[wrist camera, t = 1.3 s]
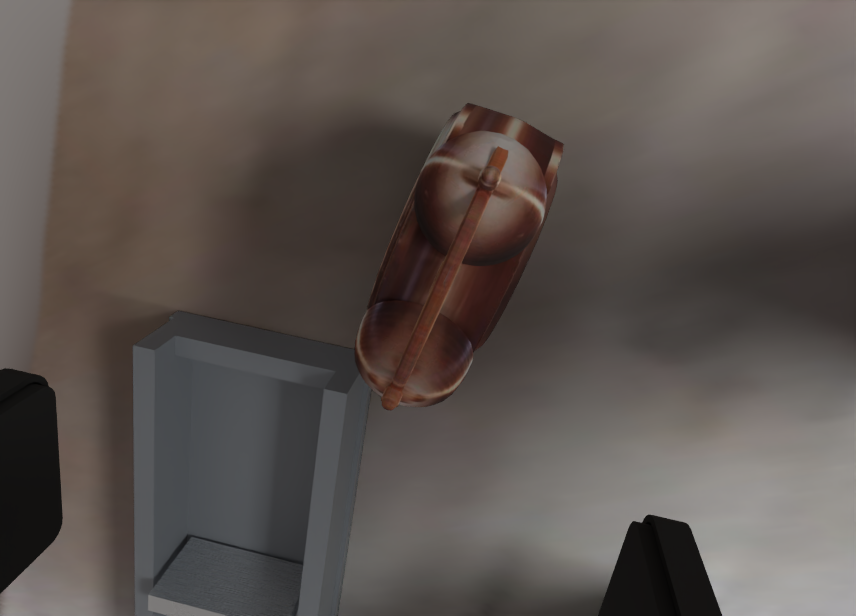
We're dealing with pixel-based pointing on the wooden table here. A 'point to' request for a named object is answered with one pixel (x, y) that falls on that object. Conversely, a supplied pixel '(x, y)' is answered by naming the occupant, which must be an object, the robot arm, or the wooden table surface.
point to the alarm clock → (455, 255)
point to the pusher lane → (245, 450)
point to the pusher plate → (226, 583)
